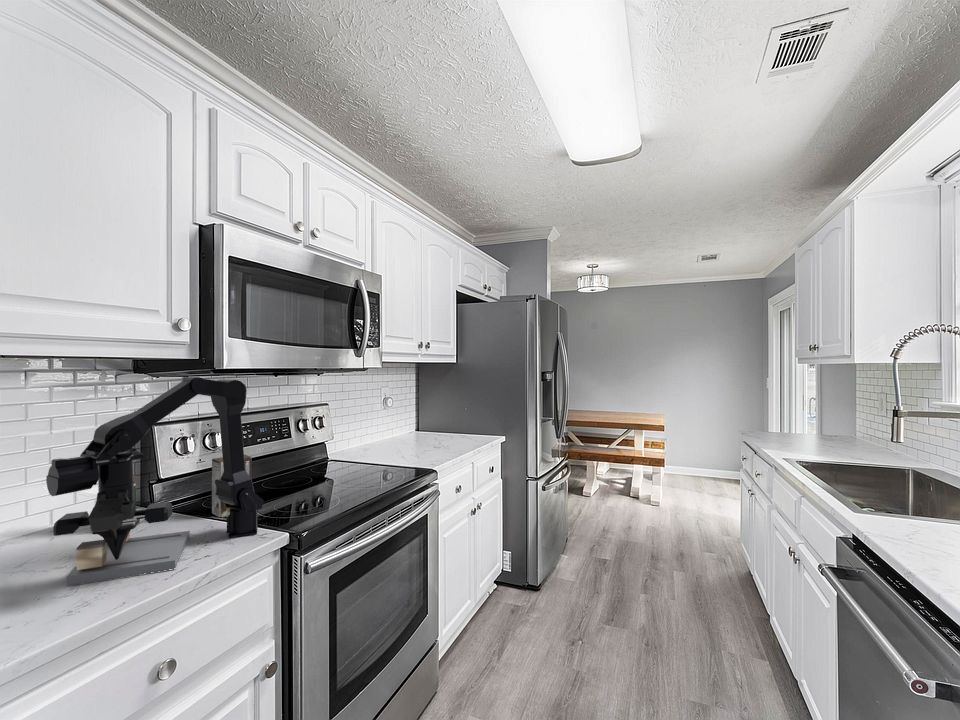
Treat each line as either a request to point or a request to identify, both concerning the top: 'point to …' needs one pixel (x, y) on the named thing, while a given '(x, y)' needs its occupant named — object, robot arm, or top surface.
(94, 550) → the block
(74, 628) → the top surface
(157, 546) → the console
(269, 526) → the top surface
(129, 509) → the robot arm
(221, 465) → the coffee box
